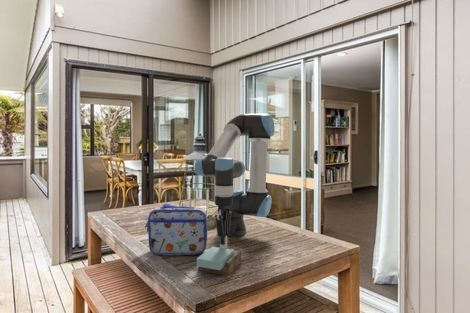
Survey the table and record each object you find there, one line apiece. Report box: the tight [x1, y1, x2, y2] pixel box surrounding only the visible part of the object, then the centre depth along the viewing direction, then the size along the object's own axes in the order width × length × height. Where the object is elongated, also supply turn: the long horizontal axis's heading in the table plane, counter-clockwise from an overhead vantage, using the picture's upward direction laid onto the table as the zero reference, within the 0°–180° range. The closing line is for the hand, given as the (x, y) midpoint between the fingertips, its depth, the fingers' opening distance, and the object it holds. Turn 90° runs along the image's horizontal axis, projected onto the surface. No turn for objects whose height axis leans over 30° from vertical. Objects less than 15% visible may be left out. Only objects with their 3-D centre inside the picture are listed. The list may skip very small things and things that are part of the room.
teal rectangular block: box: [196, 246, 235, 270], centre depth 127 cm, size 14×10×3 cm
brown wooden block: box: [197, 246, 242, 277], centre depth 132 cm, size 14×13×5 cm
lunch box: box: [144, 203, 208, 256], centre depth 145 cm, size 28×10×22 cm, turn 92°
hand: (223, 251), depth 134 cm, fingers closed
